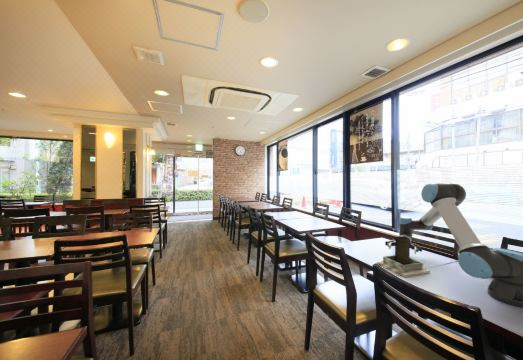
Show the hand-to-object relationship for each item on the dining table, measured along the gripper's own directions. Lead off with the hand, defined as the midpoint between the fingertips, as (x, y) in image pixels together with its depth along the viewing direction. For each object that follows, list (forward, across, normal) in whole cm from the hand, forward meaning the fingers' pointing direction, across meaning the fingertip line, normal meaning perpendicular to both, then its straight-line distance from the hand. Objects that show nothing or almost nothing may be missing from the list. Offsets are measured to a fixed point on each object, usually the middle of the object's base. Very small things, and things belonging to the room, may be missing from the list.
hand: (401, 249), depth 133 cm
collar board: (-3, 0, -13) cm, 13 cm away
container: (-3, 0, -12) cm, 12 cm away
